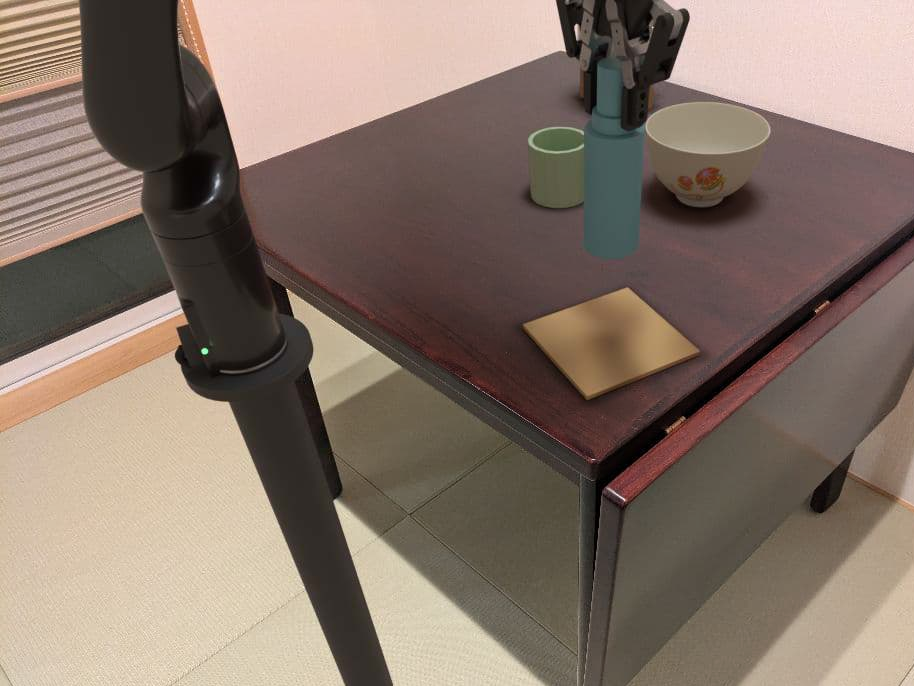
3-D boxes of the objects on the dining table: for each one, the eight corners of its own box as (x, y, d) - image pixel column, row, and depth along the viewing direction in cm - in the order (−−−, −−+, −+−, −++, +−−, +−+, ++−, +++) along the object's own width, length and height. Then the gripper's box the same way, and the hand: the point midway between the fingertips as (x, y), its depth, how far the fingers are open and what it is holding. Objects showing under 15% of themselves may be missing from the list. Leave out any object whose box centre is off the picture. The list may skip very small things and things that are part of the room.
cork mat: (587, 400, 79) (587, 396, 79) (522, 328, 89) (522, 324, 88) (699, 355, 84) (700, 350, 84) (627, 291, 93) (627, 286, 93)
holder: (548, 214, 107) (546, 158, 102) (520, 189, 113) (517, 135, 107) (600, 198, 110) (600, 143, 105) (570, 175, 115) (569, 121, 110)
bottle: (601, 265, 76) (606, 79, 64) (573, 240, 79) (572, 60, 67) (648, 249, 77) (661, 66, 66) (618, 225, 81) (625, 47, 69)
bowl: (621, 208, 108) (624, 137, 101) (671, 161, 118) (676, 93, 111) (732, 237, 101) (743, 163, 94) (775, 185, 111) (788, 115, 104)
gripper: (522, -114, 61) (531, 108, 72) (653, -86, 52) (639, 159, 64) (595, -128, 64) (592, 86, 76) (730, -104, 55) (703, 132, 67)
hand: (614, 118), depth 70 cm, fingers closed on bottle, 4 cm apart
